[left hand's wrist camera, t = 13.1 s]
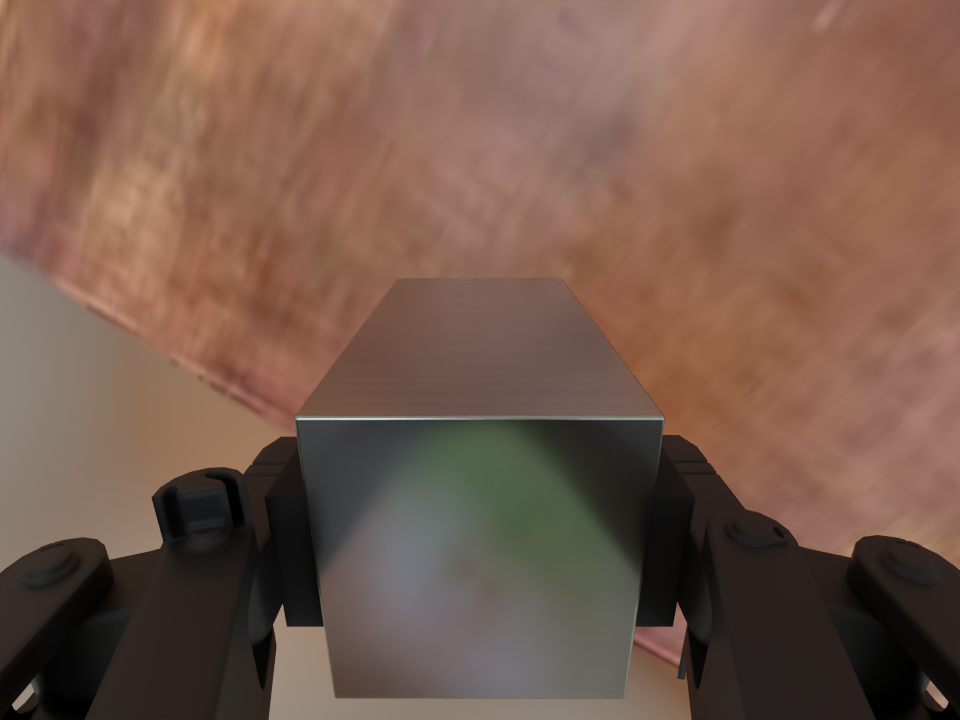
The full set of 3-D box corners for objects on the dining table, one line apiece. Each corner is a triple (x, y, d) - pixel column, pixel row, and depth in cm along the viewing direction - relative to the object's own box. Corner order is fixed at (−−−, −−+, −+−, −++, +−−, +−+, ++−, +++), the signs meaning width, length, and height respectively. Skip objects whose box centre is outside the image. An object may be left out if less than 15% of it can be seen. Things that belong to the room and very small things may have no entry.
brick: (562, 278, 16) (666, 415, 7) (554, 436, 18) (626, 700, 9) (396, 278, 16) (291, 416, 7) (406, 436, 18) (332, 700, 9)
